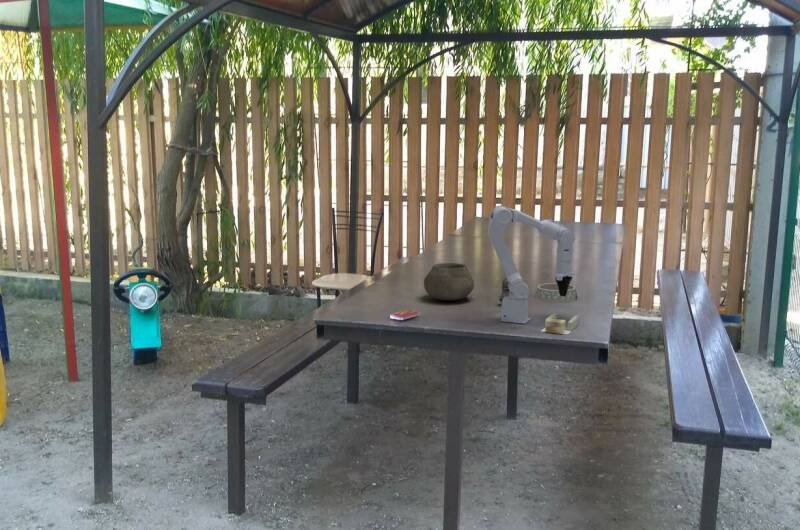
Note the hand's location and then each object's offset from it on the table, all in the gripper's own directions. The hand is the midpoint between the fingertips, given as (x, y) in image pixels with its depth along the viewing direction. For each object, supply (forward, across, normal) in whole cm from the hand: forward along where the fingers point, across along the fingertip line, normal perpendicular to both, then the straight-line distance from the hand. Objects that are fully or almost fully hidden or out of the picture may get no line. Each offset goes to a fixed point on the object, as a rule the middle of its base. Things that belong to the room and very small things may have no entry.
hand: (563, 295), depth 292 cm
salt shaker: (+10, +14, +27) cm, 32 cm away
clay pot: (+10, +14, +52) cm, 55 cm away
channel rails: (+9, -8, -2) cm, 13 cm away
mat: (+9, -17, -2) cm, 20 cm away
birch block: (+9, -18, -2) cm, 20 cm away
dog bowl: (+10, +36, +12) cm, 40 cm away
